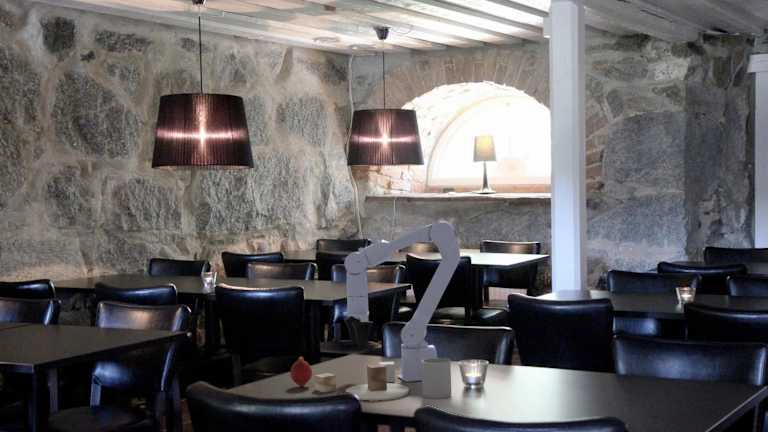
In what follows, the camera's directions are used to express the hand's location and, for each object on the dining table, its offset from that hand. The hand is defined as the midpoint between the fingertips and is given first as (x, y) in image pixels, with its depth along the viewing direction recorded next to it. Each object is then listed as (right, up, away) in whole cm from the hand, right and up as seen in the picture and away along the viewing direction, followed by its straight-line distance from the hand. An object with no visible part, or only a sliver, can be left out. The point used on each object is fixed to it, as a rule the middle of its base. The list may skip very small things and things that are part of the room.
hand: (359, 345), depth 271 cm
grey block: (+8, -9, -4) cm, 13 cm away
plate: (+5, -10, -20) cm, 23 cm away
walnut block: (+5, -9, -20) cm, 23 cm away
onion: (-15, -10, -7) cm, 20 cm away
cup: (+21, -10, -24) cm, 33 cm away
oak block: (-8, -10, -13) cm, 18 cm away
